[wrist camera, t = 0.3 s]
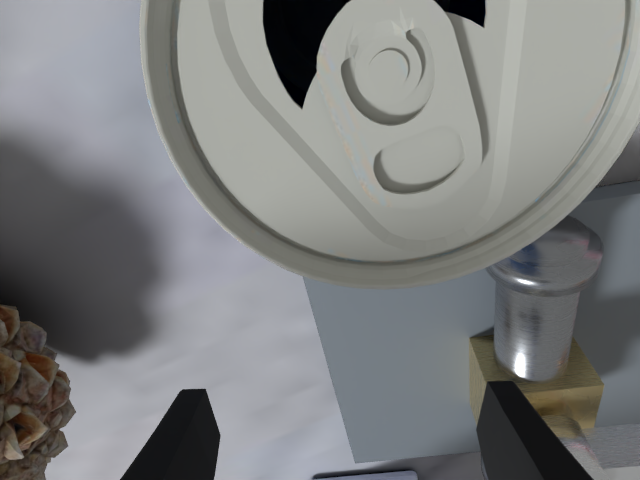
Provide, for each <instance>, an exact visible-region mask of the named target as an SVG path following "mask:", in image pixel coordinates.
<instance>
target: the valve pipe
mask: <svg viewBox="0 0 640 480" xmlns="http://www.w3.org/2000/svg"><path fill="white" fill-rule="evenodd" d="M603 251H604V247H603V243H602V241H601V239H600V237H599V236H598V235H597V234H596V233H595V232H594V231H593V230H592V229H590V228H589V227H587V226H585V225H584V224H583V223H582V222H581V221H579V220H577V219H576V218H574V217H571V216H569V215H567V216H566V217H565V218H564V219H562V220H561V221H560V222H559V223H558V224H557V225H555V226H554V227H553V228H551V229H550V230H549V231H547V232H546V233H545V234H543V235H542V236H541V237H539V238H538V239H537V240H535V241H534V242H532V243H531V244H529V245H527V246H526V247H524V248H522V249H521V250H519V251H517V252H516V253H514V254H512V255H511V256H509V257H507V258H505V259H503V260H501V261H499V262H497V263H494V264H492V265H490V266H488V267H486V268H485V269H486V271H487V272H488V274H489V275H490V276H491V277H492V278H493V279H494V280H495V281H496V286H495V316H494V335H487V336H479V337H471V338H469V390H470V407H471V410H472V413H473V416H474V419H475V422H476V425H477V423H478V419H479V415H480V411H481V406H482V402H483V398H484V393H485V389H486V385H487V381H513V382H514V383H515V384H516V385H517V386H518V388H519V389H520V390H521V392H522V393H523V394H524V395H525V397H526V398H527V399H528V401H529V402H530V403H531V405H532V406H533V407H534V408H535V410H536V411H537V412H538V414H539V415H540V416H541V417H543V416H551V415H559V416H566V417H569V418H572V419H574V420H576V421H577V422H578V423H579V424H580V426H581V428H582V429H585V428H594V425H595V421H596V417H597V413H598V409H599V405H600V401H601V397H602V393H603V389H604V383H603V382H602V380H601V379H600V377H599V376H598V374H597V373H596V371H595V369H594V368H593V366H592V365H591V363H590V362H589V360H588V359H587V357H586V356H585V354H584V353H583V351H582V349H581V348H580V346H579V345H578V343H577V342H576V340H575V339H574V337H573V330H574V324H575V319H576V313H577V307H578V301H579V296H580V291H582V290H584V289H586V288H588V287H589V286H590V285H592V284H593V283H594V282H595V280H596V279H597V277H598V275H599V271H600V266H601V261H602V256H603ZM481 469H482V473H483V476H484V478H485V480H488V477H487V474H486V470H485V466H484V462H483V458H482V454H481Z"/></svg>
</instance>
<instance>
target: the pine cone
mask: <svg viewBox="0 0 640 480" xmlns="http://www.w3.org/2000/svg"><path fill="white" fill-rule="evenodd" d="M46 337H47V332H45V331H43V328H41V327H40V326H38V325H36V324H34V323H32V322H30V321H25V322H20V320H19V313H18V310H17V309H16V307H15V306H8V305H0V480H46V478H45V473H44V472H45V469H46V466H47V463H49V462H51V457H53V458H55V457H56V456H57V455H58V454H59V453H61V452H62V451H63V450H64V449H65V448H66V447H68V444H67V441H66V438H65V436H64V433H63V432H62V431H60V430H59V429H60V428H62V427H64V426H66V424H67V423H68V422H69V420H70V419H71V418H72V416H73V415H74V414H75V413H76V411H75V409H74V407H73V405H72V404H71V402H70V400H69V395H70V391H71V388H70V387H69V384H70V380H69V379H68V377H67V375H66V373H65V372H63V371H61V370H59V369H58V368H59V364H57V363H56V362H55V358H56V355H57V353H55V352H53V351H51V350H49V349H47V348H45V347H44V345H45V342H46Z"/></svg>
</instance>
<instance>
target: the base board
mask: <svg viewBox="0 0 640 480" xmlns="http://www.w3.org/2000/svg"><path fill="white" fill-rule="evenodd" d="M568 215H569V216H571V217H574V218H576V219H577V220H579V221H581V222H582V223H583V224H584V225H585V226H587V227H589V228H590V229H592V230H593V231H594V232H595V233H596V234H597V235H598V236H599V237H600V239H601V241H602V243H603V247H604V251H603V256H602V261H601V266H600V271H599V275H598V277H597V279H596V280H595V282H594V283H593V284H592V285H590V286H589V287H588V288H586V289H584V290H582V291H580V296H579V301H578V307H577V313H576V319H575V324H574V330H573V337H574V339H575V340H576V342H577V343H578V345H579V346H580V348H581V349H582V351H583V353H584V354H585V356H586V357H587V359H588V360H589V362H590V363H591V365H592V366H593V368H594V369H595V371H596V373H597V374H598V376H599V377H600V379H601V380H602V382H603V383H604V389H603V393H602V397H601V401H600V405H599V409H598V413H597V417H596V421H595V425H594V428H595V427H606V426H616V425H626V424H637V423H640V180H639V181H633V182H627V183H621V184H614V185H608V186H602V187H596V188H594V189H593V190H592V191H591V192H590V193H589V194H588V195H587V197H586V198H585V199H584V200H583V201H582V202H581V203H580V204H579V205H578V206H577V207H576V208H575V209H573V210H572V211H571V212H570V213H569V214H568ZM303 279H304V283H305V286H306V290H307V293H308V297H309V301H310V304H311V308H312V311H313V315H314V318H315V322H316V325H317V329H318V333H319V336H320V340H321V343H322V347H323V350H324V354H325V357H326V361H327V365H328V368H329V372H330V375H331V379H332V382H333V386H334V389H335V393H336V397H337V400H338V404H339V407H340V411H341V414H342V418H343V421H344V425H345V429H346V432H347V436H348V439H349V443H350V446H351V450H352V453H353V457H354V461H355V463H364V462H375V461H386V460H396V459H407V458H418V457H428V456H439V455H450V454H461V453H471V452H481V450H480V445H479V441H478V436H477V432H476V428H477V425H476V422H475V419H474V416H473V413H472V410H471V407H470V390H469V338H471V337H479V336H487V335H494V316H495V286H496V281H495V280H494V279H493V278H492V277H491V276H490V275H489V274H488V272H487V271H486V269H485V268H484V269H481V270H479V271H476V272H473V273H470V274H468V275H465V276H462V277H459V278H456V279H452V280H448V281H444V282H440V283H437V284H432V285H426V286H419V287H413V288H403V289H386V290H381V289H359V288H352V287H345V286H338V285H333V284H329V283H325V282H321V281H317V280H313V279H310V278H307V277H304V276H303Z"/></svg>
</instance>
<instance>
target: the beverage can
mask: <svg viewBox="0 0 640 480" xmlns="http://www.w3.org/2000/svg"><path fill="white" fill-rule="evenodd" d="M139 31H140V48H141V65H142V70H143V76H144V81H145V87H146V92H147V98H148V101H149V105H150V108H151V111H152V114H153V118H154V121H155V124H156V127H157V131H158V133H159V135H160V137H161V140H162V142H163V144H164V146H165V149H166V151H167V153H168V155H169V158H170V160H171V161H172V163H173V165H174V166H175V168H176V170H177V171H178V173H179V175H180V177H181V178H182V180H183V182H184V183H185V185H186V186H187V188H188V189H189V190H190V192H191V193H192V194H193V195H194V197H195V198H196V199H197V201H198V202H199V203H200V205H201V206H202V207H203V208H204V209H205V211H206V212H207V213H208V214H209V215H210V216H211V217H212V218H213V219H214V220H215V221H216V222H217V223H218V224H219V225H220V226H221V227H222V228H223V229H224V230H226V231H227V232H228V233H229V234H230V235H232V236H233V237H234V238H235V239H236V240H238V241H239V242H240V243H241V244H243V245H244V246H246V247H247V248H249V249H250V250H252V251H253V252H255V253H256V254H258V255H259V256H261V257H263V258H264V259H266V260H268V261H270V262H272V263H274V264H276V265H278V266H280V267H282V268H284V269H286V270H288V271H291V272H293V273H296V274H299V275H301V276H304V277H307V278H310V279H313V280H317V281H321V282H325V283H329V284H333V285H338V286H345V287H352V288H359V289H381V290H386V289H403V288H413V287H419V286H426V285H432V284H437V283H440V282H444V281H448V280H452V279H456V278H459V277H462V276H465V275H468V274H470V273H473V272H476V271H479V270H481V269H484V268H486V267H488V266H490V265H492V264H494V263H497V262H499V261H501V260H503V259H505V258H507V257H509V256H511V255H512V254H514V253H516V252H517V251H519V250H521V249H522V248H524V247H526V246H527V245H529V244H531V243H532V242H534V241H535V240H537V239H538V238H539V237H541V236H542V235H543V234H545V233H546V232H547V231H549V230H550V229H551V228H553V227H554V226H555V225H557V224H558V223H559V222H560V221H561V220H562V219H564V218H565V217H566V216H567V215H568V214H569V213H570V212H571V211H572V210H573V209H575V208H576V207H577V206H578V205H579V204H580V203H581V202H582V201H583V200H584V199H585V198H586V197H587V195H588V194H589V193H590V192H591V191H592V190H593V189H594V188H595V187H596V185H597V184H598V183H599V182H600V181H601V180H602V179H603V177H604V176H605V175H606V173H607V172H608V171H609V169H610V168H611V167H612V165H613V164H614V163H615V161H616V160H617V158H618V157H619V156H620V154H621V153H622V152H623V150H624V148H625V146H626V145H627V143H628V141H629V140H630V138H631V136H632V135H633V133H634V131H635V130H636V128H637V126H638V125H639V123H640V0H141V8H140V24H139Z"/></svg>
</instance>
